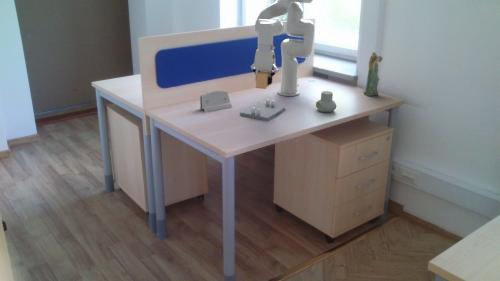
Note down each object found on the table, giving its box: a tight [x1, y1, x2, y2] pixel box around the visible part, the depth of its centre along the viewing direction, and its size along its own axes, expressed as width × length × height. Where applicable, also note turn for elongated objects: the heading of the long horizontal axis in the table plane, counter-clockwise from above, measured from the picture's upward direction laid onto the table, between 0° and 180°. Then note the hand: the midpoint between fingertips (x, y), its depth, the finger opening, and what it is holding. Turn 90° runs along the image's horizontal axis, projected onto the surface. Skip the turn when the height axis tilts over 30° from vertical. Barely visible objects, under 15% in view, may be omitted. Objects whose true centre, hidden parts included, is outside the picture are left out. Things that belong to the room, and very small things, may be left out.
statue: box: [363, 51, 383, 97], centre depth 278 cm, size 7×8×25 cm
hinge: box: [199, 90, 233, 113], centre depth 253 cm, size 17×5×10 cm, turn 121°
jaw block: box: [255, 71, 270, 90], centre depth 242 cm, size 12×5×7 cm, turn 165°
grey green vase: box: [315, 90, 337, 113], centre depth 252 cm, size 11×8×10 cm
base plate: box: [239, 98, 286, 122], centre depth 248 cm, size 20×16×4 cm
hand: (263, 83), depth 243 cm, fingers closed on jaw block, 5 cm apart
